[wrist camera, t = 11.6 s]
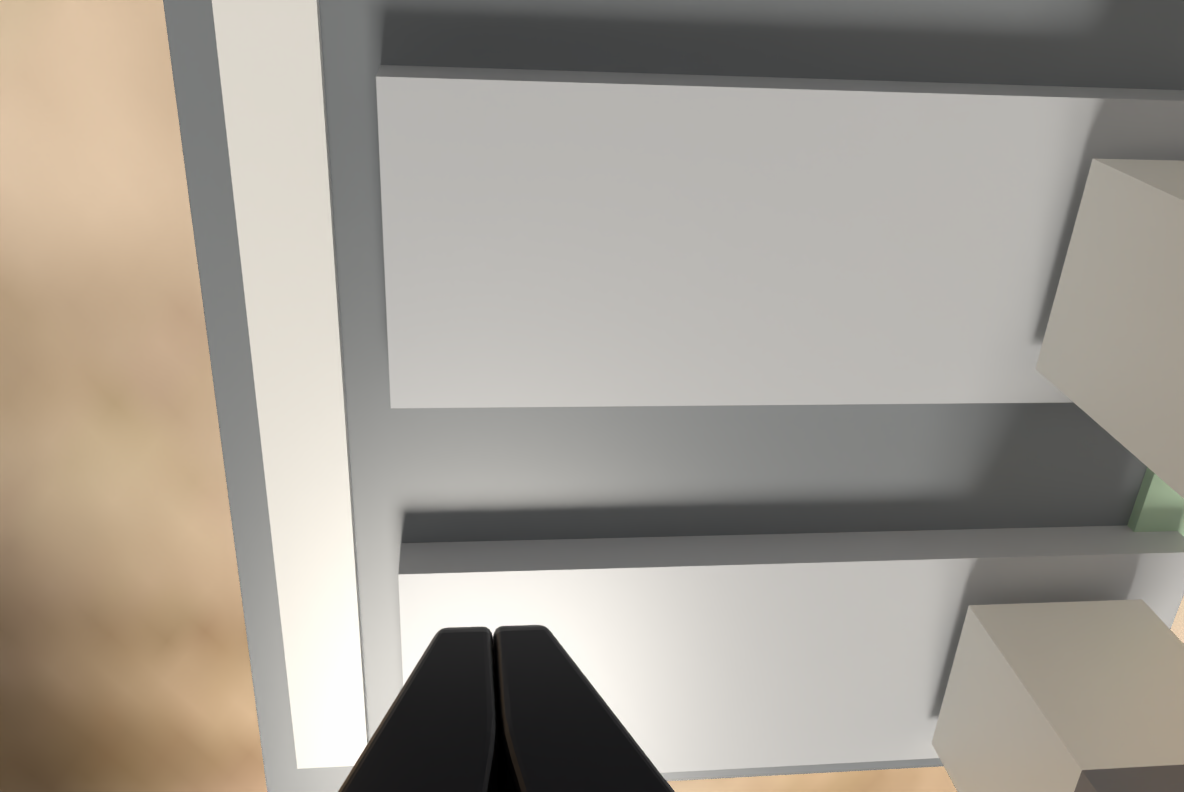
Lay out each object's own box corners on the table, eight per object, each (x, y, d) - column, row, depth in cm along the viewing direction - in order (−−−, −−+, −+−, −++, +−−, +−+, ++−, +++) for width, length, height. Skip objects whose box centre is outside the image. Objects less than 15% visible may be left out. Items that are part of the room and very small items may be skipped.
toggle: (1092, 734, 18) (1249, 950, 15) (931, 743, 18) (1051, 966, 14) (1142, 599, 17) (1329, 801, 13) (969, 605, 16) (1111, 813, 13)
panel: (1068, 702, 21) (1132, 789, 19) (281, 738, 20) (261, 840, 17) (1536, -659, 12) (1757, -766, 10) (93, -853, 10) (-2, -1035, 8)
